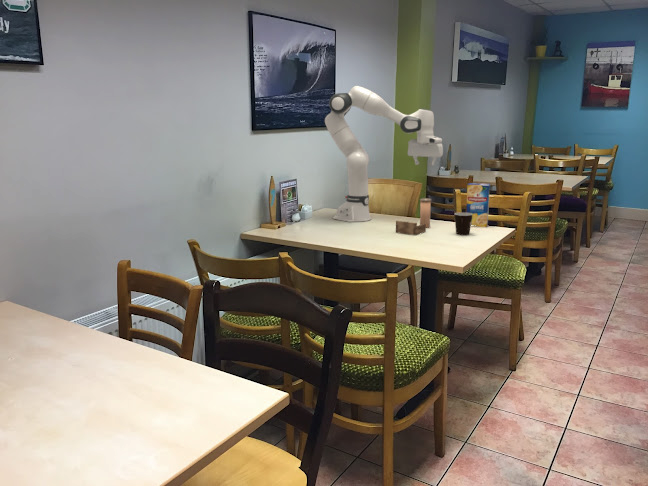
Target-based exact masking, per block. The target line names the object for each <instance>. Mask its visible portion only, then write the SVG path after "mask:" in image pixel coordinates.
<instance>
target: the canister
mask: <svg viewBox="0 0 648 486" xmlns="http://www.w3.org/2000/svg"><path fill="white" fill-rule="evenodd" d="M419 201H420V204H419V206H420V209H419V210H420V212H419V215H420V216H419V225H421V224H426V229H430V228H429V227H431V203H432V198H429V197H428V198H420V199H419Z"/></svg>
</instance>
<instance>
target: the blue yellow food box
mask: <svg viewBox="0 0 648 486" xmlns="http://www.w3.org/2000/svg"><path fill="white" fill-rule="evenodd" d="M490 187H491V183H478V182H476V183H475V182H473V183H472V182H470V183H467V188H466V189H467V190H466V191H467V192H466V208H465V209H466V210H465V213H471V214H473V215H472V221H471V225H476V226H478V228H488V225H489V209H490V208H489V205H490V191H491V190H490V189H491V188H490Z"/></svg>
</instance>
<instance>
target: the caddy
mask: <svg viewBox="0 0 648 486" xmlns="http://www.w3.org/2000/svg"><path fill="white" fill-rule="evenodd" d="M426 230H427V228H426V224H421V225H420V224H419V225H418V223H417V222H412V221H411V222H410V221H402V220H395V233H397V234H404V235H409V236H410V235H411V236H417V235H420V233H421V234H423V233H426Z"/></svg>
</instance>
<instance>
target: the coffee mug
mask: <svg viewBox="0 0 648 486" xmlns="http://www.w3.org/2000/svg"><path fill="white" fill-rule="evenodd" d="M472 215H473V214H471V213H466V212H454V224H455V234H456V235H458V236H469V235H470V232H471V227H472V226H471V221H472Z"/></svg>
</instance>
